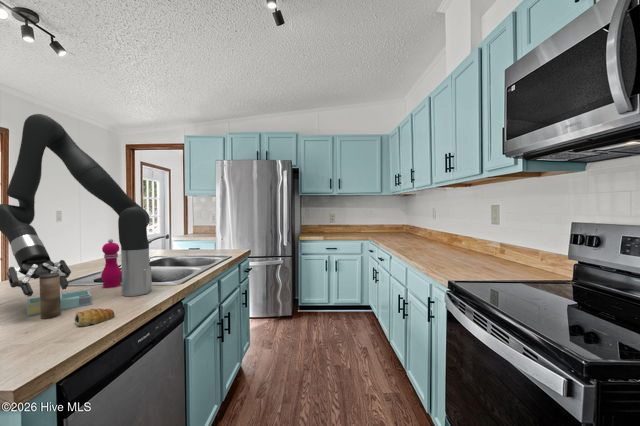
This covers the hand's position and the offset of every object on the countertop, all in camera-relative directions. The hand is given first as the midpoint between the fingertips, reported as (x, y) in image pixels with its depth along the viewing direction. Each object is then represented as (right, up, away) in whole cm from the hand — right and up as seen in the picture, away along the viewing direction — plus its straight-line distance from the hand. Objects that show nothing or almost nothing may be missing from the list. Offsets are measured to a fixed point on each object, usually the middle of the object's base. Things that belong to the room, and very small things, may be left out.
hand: (48, 291), depth 93 cm
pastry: (+17, -8, -4) cm, 19 cm away
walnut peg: (+1, -8, 0) cm, 8 cm away
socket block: (-4, -8, +9) cm, 13 cm away
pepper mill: (-5, -7, +35) cm, 36 cm away
